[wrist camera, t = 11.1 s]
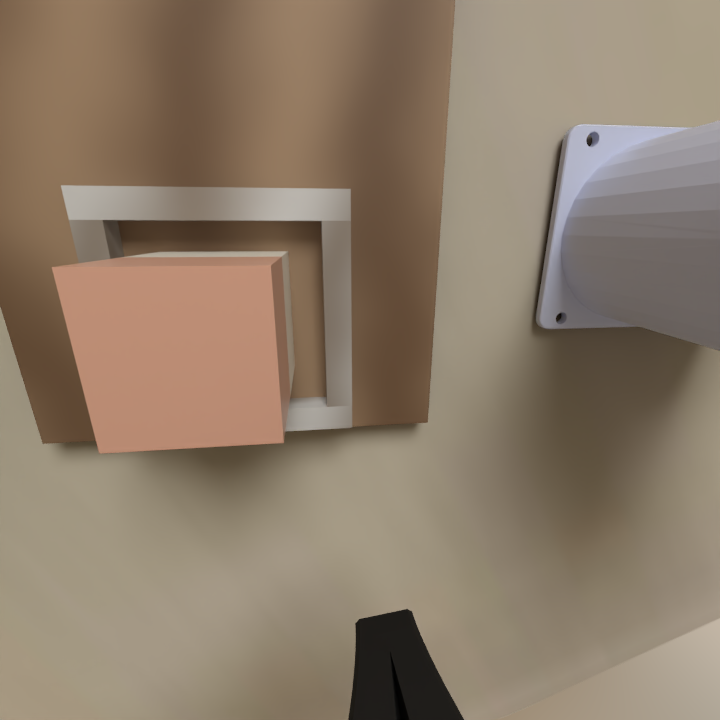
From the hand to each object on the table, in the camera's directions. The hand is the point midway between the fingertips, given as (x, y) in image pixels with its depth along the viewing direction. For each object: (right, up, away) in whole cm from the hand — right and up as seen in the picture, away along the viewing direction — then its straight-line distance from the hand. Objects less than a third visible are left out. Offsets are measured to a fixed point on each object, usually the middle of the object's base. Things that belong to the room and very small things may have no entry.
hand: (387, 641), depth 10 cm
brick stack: (-6, +9, +5) cm, 12 cm away
